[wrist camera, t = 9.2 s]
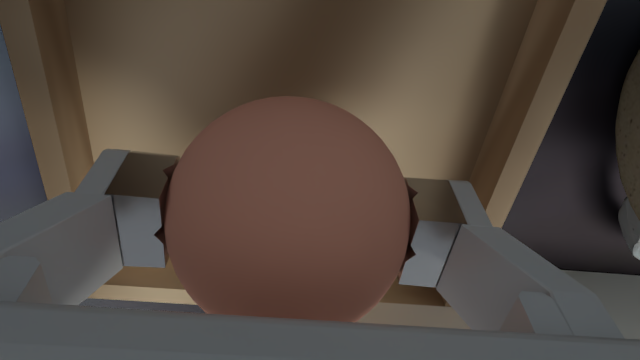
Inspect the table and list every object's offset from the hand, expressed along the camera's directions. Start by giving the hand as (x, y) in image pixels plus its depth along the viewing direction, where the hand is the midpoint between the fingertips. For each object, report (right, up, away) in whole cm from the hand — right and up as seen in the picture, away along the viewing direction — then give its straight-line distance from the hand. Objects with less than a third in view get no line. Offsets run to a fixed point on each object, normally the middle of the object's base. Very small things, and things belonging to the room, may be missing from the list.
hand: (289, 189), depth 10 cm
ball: (0, -1, -1) cm, 1 cm away
